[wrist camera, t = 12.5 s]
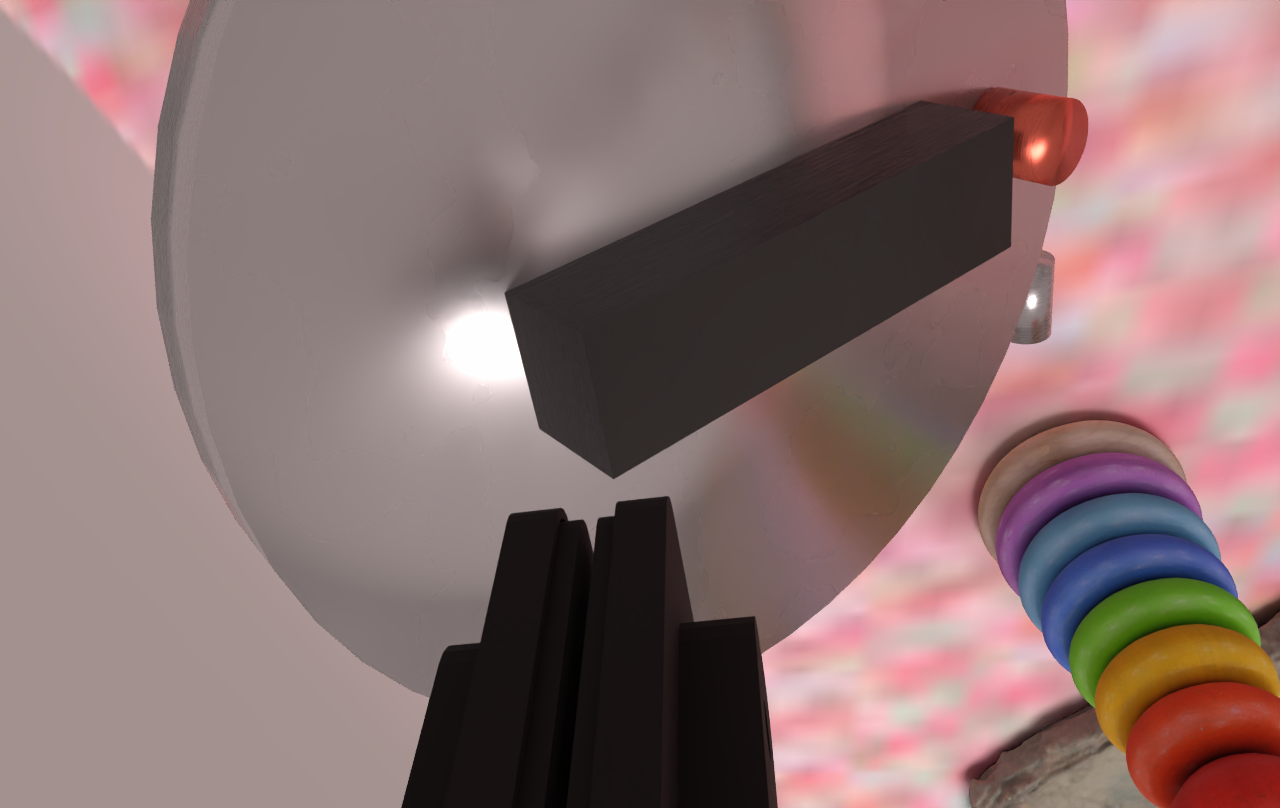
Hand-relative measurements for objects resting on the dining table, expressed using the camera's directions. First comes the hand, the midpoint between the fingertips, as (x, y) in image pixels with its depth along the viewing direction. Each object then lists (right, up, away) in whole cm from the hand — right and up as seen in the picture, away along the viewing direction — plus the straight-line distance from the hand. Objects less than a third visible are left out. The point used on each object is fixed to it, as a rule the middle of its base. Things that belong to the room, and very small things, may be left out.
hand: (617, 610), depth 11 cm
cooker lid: (+1, +5, +8) cm, 10 cm away
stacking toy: (+18, -1, +32) cm, 37 cm away
